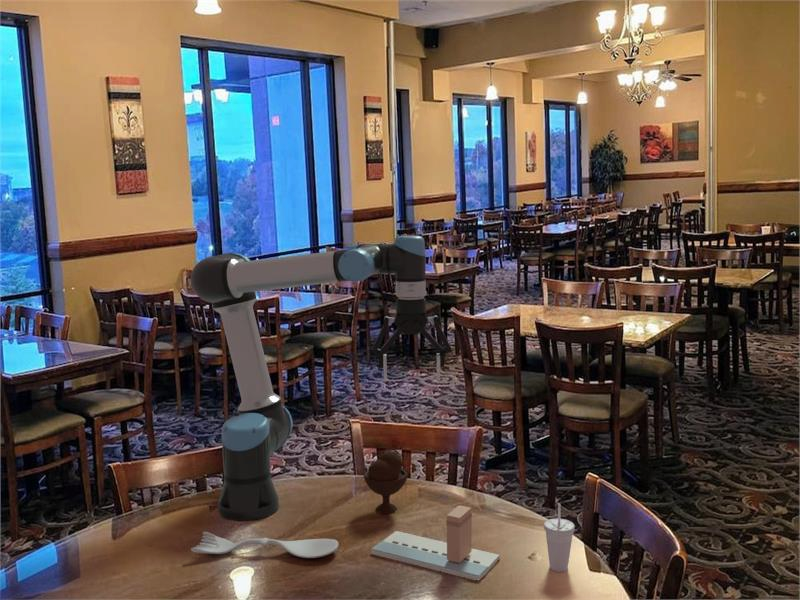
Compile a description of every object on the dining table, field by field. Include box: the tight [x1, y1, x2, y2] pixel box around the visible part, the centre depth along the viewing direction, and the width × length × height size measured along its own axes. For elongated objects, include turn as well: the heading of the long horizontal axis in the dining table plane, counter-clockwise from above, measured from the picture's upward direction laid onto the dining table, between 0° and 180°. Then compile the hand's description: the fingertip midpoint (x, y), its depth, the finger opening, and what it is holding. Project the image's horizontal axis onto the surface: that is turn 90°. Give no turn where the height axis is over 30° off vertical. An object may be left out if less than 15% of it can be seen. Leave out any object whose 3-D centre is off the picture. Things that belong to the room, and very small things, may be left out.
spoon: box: [190, 531, 339, 559], centre depth 177 cm, size 9×32×4 cm, turn 86°
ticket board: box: [371, 530, 501, 582], centre depth 174 cm, size 26×11×1 cm, turn 60°
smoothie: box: [543, 503, 576, 573], centre depth 167 cm, size 6×6×14 cm
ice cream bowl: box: [363, 450, 409, 515], centre depth 199 cm, size 11×11×15 cm
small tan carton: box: [445, 505, 473, 563], centre depth 170 cm, size 3×6×10 cm, turn 150°
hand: (411, 379), depth 202 cm, fingers open, 13 cm apart
